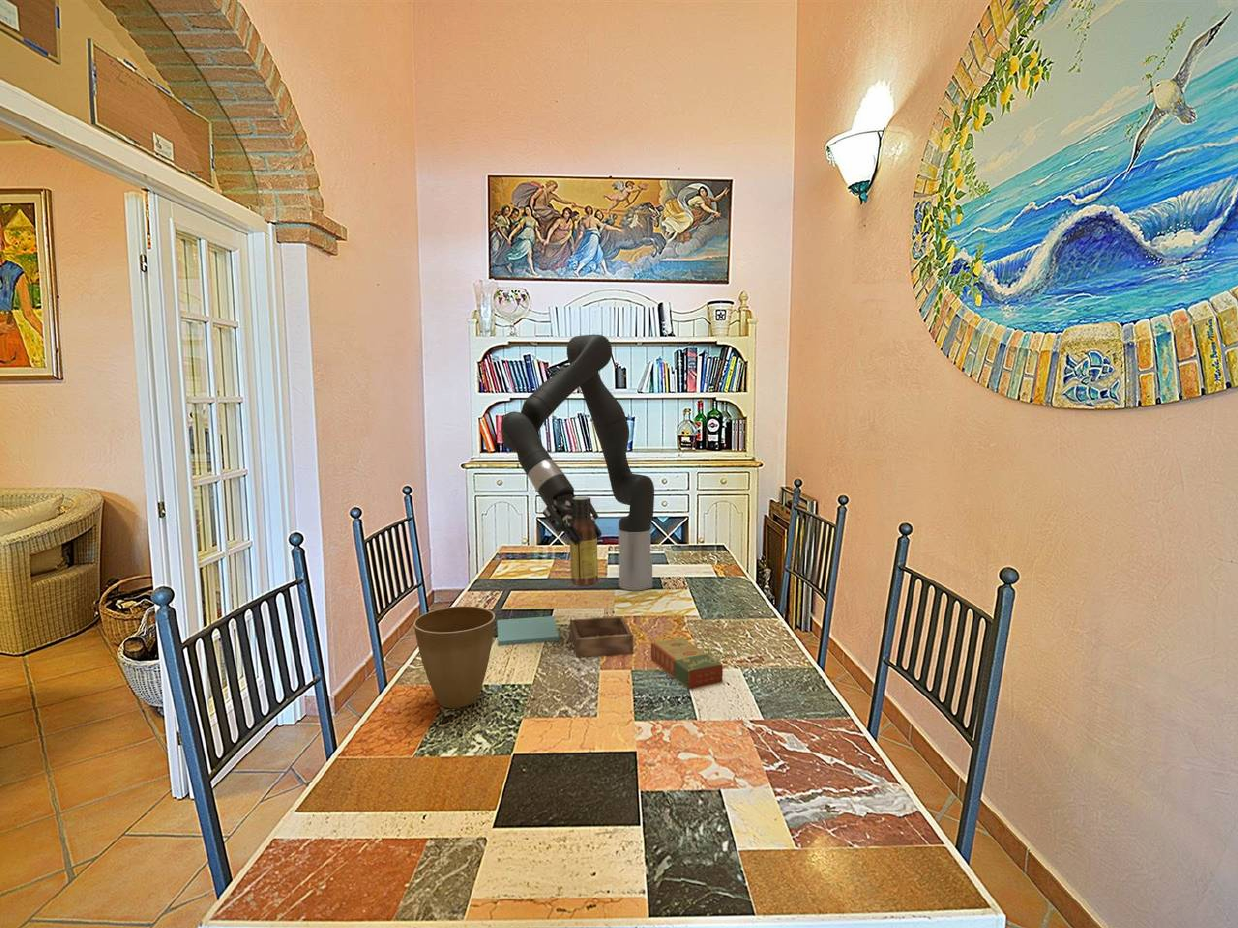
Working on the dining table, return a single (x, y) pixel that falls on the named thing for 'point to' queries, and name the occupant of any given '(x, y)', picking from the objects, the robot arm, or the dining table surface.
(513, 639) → the teal board
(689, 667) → the carton
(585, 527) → the sauce bottle
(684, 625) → the dining table surface
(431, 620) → the plant pot
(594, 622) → the frame
